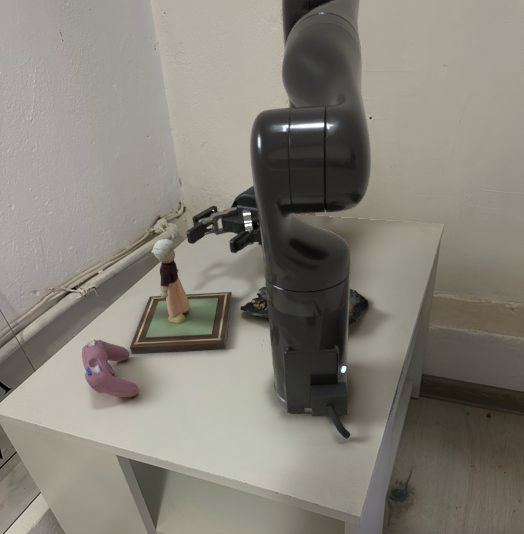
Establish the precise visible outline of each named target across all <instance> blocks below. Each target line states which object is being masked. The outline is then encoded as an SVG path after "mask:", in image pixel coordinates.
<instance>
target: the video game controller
mask: <svg viewBox="0 0 524 534" xmlns="http://www.w3.org/2000/svg"><path fill="white" fill-rule="evenodd" d="M129 358H130V351H129V350H128V349H127V348H126V347H124V346H122V345H118V344H113V343H109V342H107V341H105V340H102V339H95V338H94V339H93V340H92V341H89V342H88V343H87V344H85V345H84V346H83V347H82V348H81V359H82V364H83V367H84V370H85V373H84V377H85V378H84V379H85V380H86V382H87V384H88V385H89V387H90V388H92V390H94V391H95V392H96V393H98V394H106V395H109V396H112V397H118V398H132V397H134V396H137V395H138V393H139V391H140V390H139V387H138V385H137V384H136V383H135V382H133V381H130V380H126V379H123V378H121V377H117V376H114V375H113V374H115V369H114V367H113V366H112V365H111V364H110V362H123V361H126V360H128V359H129Z"/></svg>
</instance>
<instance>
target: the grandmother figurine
mask: <svg viewBox="0 0 524 534" xmlns="http://www.w3.org/2000/svg"><path fill="white" fill-rule="evenodd" d="M174 247H175V243H174V242H173V240H171V239H167V238H164V239H162V238H161V239H159V240H157V241H156V242H155V243H154V245H153V247H152V250H151V254H153V255H154V257H155V258H156V259H158V261H159V263H160V264H161V265H160V267H159V275H160V292H161V293H160V296H161V297H162V298H166V301H167V307H168V313H169V315H170V316H169V318H168V320H169V321H170V322H174V323H182V322H184V321H185V319H186V318H185V316H184V315H183V314H185V313H187V311H188V310H189V309H190V304H189V301H188V298H187V296H186V291H185V289H184V287H183V284H182V282H181V279H180V277H179V274H178V273H179V268H178V266H177V263H176V261H175V257H176V252H175V250H174Z"/></svg>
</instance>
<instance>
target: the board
mask: <svg viewBox="0 0 524 534" xmlns="http://www.w3.org/2000/svg"><path fill="white" fill-rule="evenodd" d="M186 296H187V298H188V301H189V304H190V309H189V310H188V311H187V313H185V314H183V315H184V316H185V318H186V319H185V321H184V322H182V323H174V322H170V321H169V320H168V318H169V316H170V315H169V313H168V307H167V301H166V298H162V297H161V295H157V296H155V295H151V296H149V298H148V300H147V303H146V305H145V307H144V310H143V313H142V315H141V317H140V321H139V323H138V326H137V328H136V330H135V332H134V336H133V338H132V341H131V343H130V346H129V349H130V352H131V354H133V355H134V354H152V353H170V352H171V353H172V352H173V353H174V352H192V351H211V350H212V351H213V350H225V349H226V345H227V338H228V337H227V336H228V332H229V325H230V316H231V309H232V303H233V292H232V291H224V292H223V291H222V292H204V293H188V294H186Z"/></svg>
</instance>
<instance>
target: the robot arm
mask: <svg viewBox="0 0 524 534" xmlns="http://www.w3.org/2000/svg"><path fill="white" fill-rule="evenodd" d="M359 11H360V0H281V21H282V22H281V23H282V34H283V35H282V36H283V37H282V38H283V47H284V51H283V58H282V63H281V77H282V78H281V80H282V85H283V88H284V91H285V93H286V95H287V96H288V100H289V102H288V103H289V107H280V108H271V109H266V110H263V111H261V112H259V113H258V114H257V115H256V117H255V118H254V120H253V122H252V127H251V131H250V137H249V155H250V168H251V176H252V183H253V185H252V186H249V188H247V189H246V190H243V191H242V192H241V193H239V194H238V195H237V196H236V197H235V198H234V200H233V202H232V204H231V206H230V207H228V208H225V209H223V210H221V211H220V210H218V206H217V205H212V206H209V207H208V208H206V209H204V210H202V211H201V212H199V213H197V214H195V215H194V216H192V218H191V219H192V224H193V226H192V227H191V228H189V229H187V230H186V231H185V233H186V239H187V243H188V244H191V245H194V244H196V243H198V242H199V241H200V240H201V239H203V238H204V237H205V236H207V235H211V234H215V235H216V236H218V235H223V234H227V233H234V234H235V235H234V236H233V237H231V238H230V240H229V250H230V253H231V254H237V253H238V252H240V251H242V250H244V249H245V248H246V247H247V246H251V245H254V244H255V243H257V244H258V246H259V245H260V246H261V249H262V251H261V252H262V260H263V269H264V280H265V282H264V283H265V287H266V293H267V306H268V317H269V318H268V327H269V338H270V348H271V360H272V369H273V371H272V372H273V380H274V381H273V388H274V389H273V390H274V394H275V396H276V398H277V400H278V401H279V402H280V403H281V404H282V405H284V406H285V407H286V412H287V414H297V413H299V414H302V413H303V414H305V413H311V416H312V417H330V419H331V421H332V424H333V425H334V427H335V429H336V430H337V432H338V434H339V435H341V437H343V438H344V439H349V438H350V437H351V435H352V434H351V432H350V431H349V430H347V429H346V427H345V426H344V424H343V422H342V421H341V420H340V417H339V416H347V415H348V409H349V407H348V406H349V394H348V393H349V392H348V347H349V323H348V321H349V295H350V289H351V265H352V252H351V248H350V245H349V243H348V241H346V239H344V237H342V236H341V235H340V234H337V233H335V232H334V231H332V230H329V229H326V228H323V227H320V226H317V225H314V224H313V223H310V222H308V221H306V220H304V218H301V217H300V216H299V215H298V214H323V213H339V212H343V211H349V210H352V209H355V208H356V207H357V206H358V205H360V204H361V202H362V201H363V199H364V197H365V195H366V194H367V190H368V187H369V183H370V178H371V170H372V169H371V168H372V150H371V139H370V133H369V132H370V131H369V127H368V126H369V125H368V120H367V115H366V111H365V110H366V109H365V106H364V100H363V95H362V94H363V93H362V64H363V63H362V46H361V40H360V33H359V22H358V21H359ZM219 220H220V221H221V227H220V228H219ZM211 225H212V226H211ZM210 226H211V227H210ZM208 227H210V228H208Z"/></svg>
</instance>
